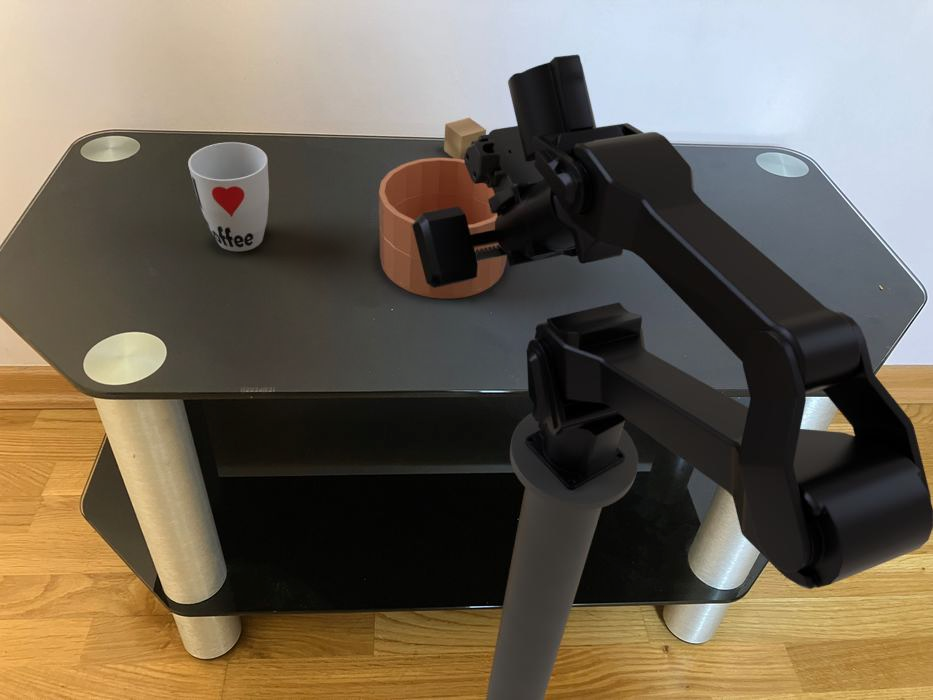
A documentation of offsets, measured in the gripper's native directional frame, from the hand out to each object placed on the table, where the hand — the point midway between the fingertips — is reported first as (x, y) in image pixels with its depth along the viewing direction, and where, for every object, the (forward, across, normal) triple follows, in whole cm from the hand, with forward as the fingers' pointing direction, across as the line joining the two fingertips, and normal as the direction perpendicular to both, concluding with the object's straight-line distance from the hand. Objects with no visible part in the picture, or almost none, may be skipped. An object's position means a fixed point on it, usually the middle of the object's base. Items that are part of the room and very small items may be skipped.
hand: (487, 249), depth 77 cm
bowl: (+14, 0, -1) cm, 14 cm away
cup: (+22, +20, -9) cm, 31 cm away
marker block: (+29, -12, -17) cm, 35 cm away
